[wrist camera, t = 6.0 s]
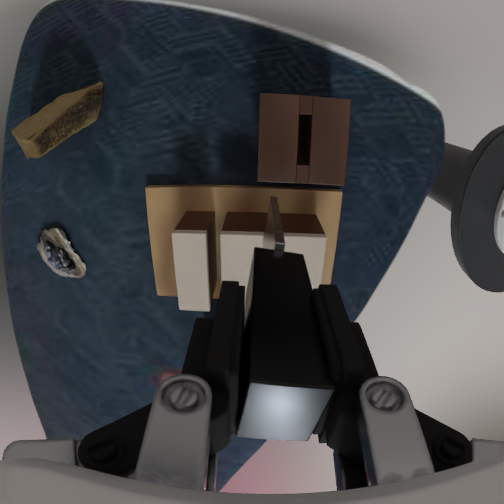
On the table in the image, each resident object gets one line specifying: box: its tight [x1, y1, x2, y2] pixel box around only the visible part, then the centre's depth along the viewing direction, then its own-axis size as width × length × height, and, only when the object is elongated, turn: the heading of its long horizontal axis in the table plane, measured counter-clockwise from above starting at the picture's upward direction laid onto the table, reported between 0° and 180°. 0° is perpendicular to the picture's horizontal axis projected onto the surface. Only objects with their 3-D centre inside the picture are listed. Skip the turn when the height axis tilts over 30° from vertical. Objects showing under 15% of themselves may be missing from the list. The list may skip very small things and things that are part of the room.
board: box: [145, 185, 343, 299], centre depth 34 cm, size 20×13×1 cm, turn 89°
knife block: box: [258, 93, 351, 186], centre depth 27 cm, size 7×7×7 cm
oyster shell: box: [36, 228, 86, 278], centre depth 35 cm, size 7×8×2 cm
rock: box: [11, 81, 103, 158], centre depth 26 cm, size 11×9×10 cm
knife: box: [235, 196, 336, 441], centre depth 13 cm, size 2×3×14 cm, turn 171°
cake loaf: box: [220, 212, 327, 299], centre depth 31 cm, size 9×8×6 cm
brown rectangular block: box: [172, 211, 217, 311], centre depth 31 cm, size 3×8×6 cm, turn 179°
